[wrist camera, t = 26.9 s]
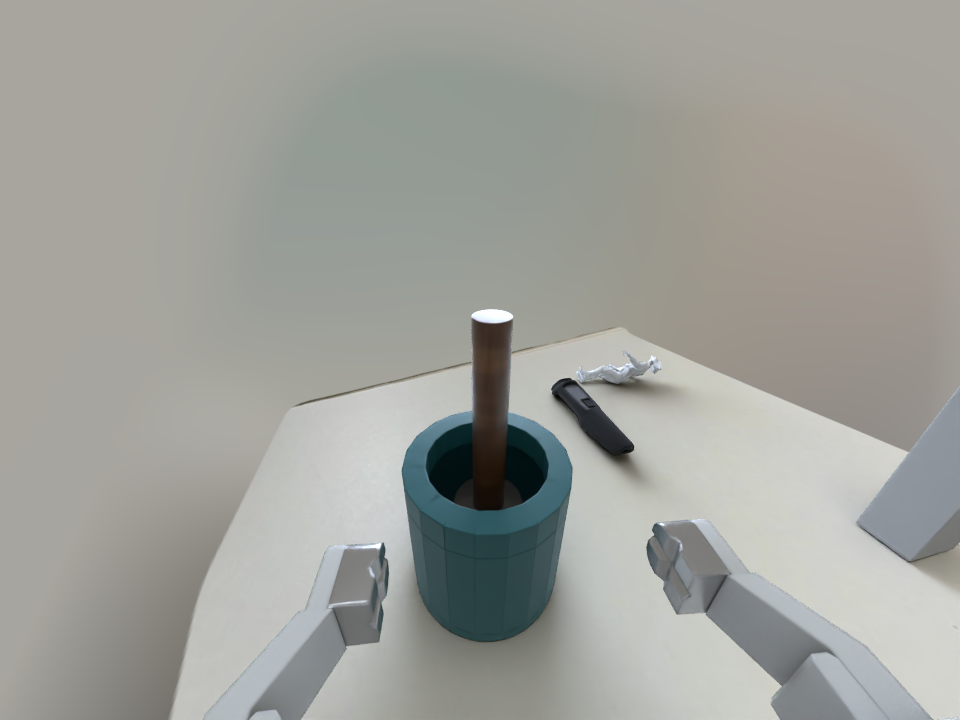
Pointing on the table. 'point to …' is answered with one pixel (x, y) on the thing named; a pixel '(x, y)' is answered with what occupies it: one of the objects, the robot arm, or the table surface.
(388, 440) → the table surface
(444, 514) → the cup
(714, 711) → the table surface
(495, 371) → the brush
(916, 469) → the vintage mobile phone
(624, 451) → the electric trimmer
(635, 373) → the soldier figure
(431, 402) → the table surface
